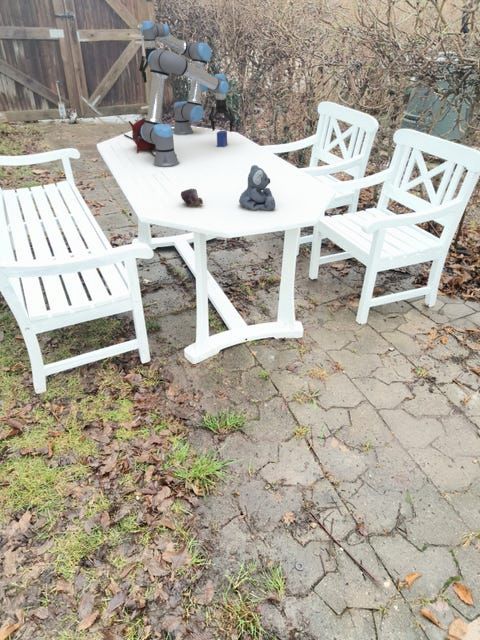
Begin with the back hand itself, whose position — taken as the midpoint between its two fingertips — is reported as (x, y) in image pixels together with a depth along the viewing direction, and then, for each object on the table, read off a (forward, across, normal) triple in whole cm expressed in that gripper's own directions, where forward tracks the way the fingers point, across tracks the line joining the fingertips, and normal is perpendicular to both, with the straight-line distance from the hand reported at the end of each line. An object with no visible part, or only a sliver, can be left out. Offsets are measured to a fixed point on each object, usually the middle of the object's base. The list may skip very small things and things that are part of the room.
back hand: (154, 82), depth 319 cm
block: (+41, -48, -6) cm, 63 cm away
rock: (+41, -77, +116) cm, 145 cm away
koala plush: (+41, -109, +107) cm, 158 cm away
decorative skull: (+41, -2, +19) cm, 45 cm away
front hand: (+30, -49, -6) cm, 58 cm away
